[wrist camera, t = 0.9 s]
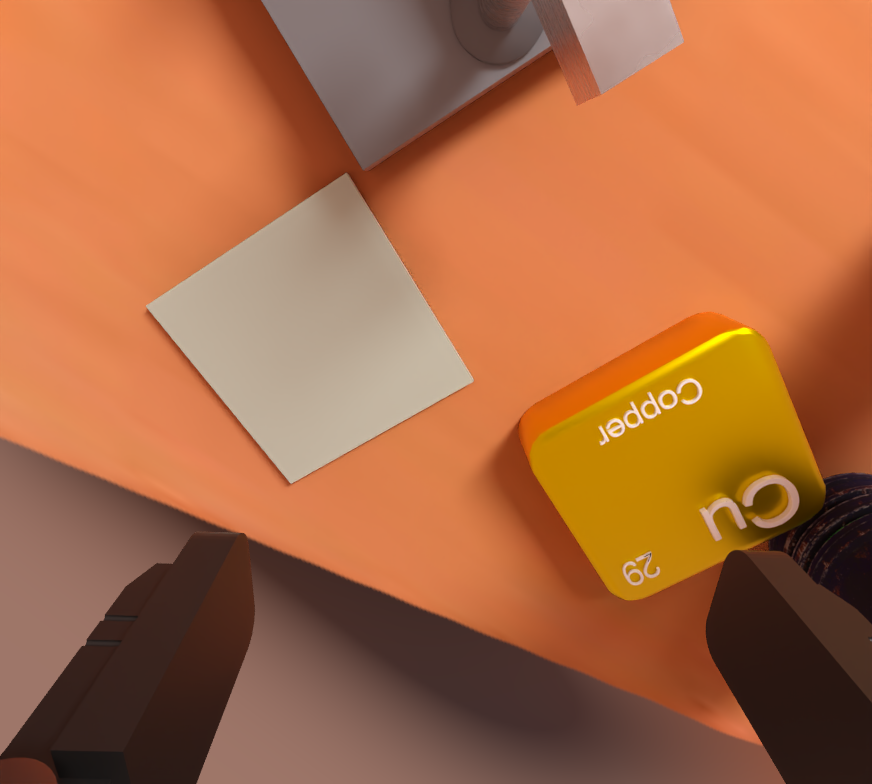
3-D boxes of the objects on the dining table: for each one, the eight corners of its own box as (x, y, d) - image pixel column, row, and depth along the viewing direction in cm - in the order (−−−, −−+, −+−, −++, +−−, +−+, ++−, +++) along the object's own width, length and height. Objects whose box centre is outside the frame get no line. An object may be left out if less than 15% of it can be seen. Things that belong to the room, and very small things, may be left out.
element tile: (717, 297, 33) (764, 315, 28) (793, 475, 38) (843, 515, 33) (505, 417, 35) (517, 451, 31) (601, 569, 40) (624, 618, 36)
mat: (347, 172, 29) (346, 172, 29) (473, 377, 34) (473, 381, 33) (150, 303, 32) (145, 306, 31) (292, 479, 36) (290, 484, 36)
